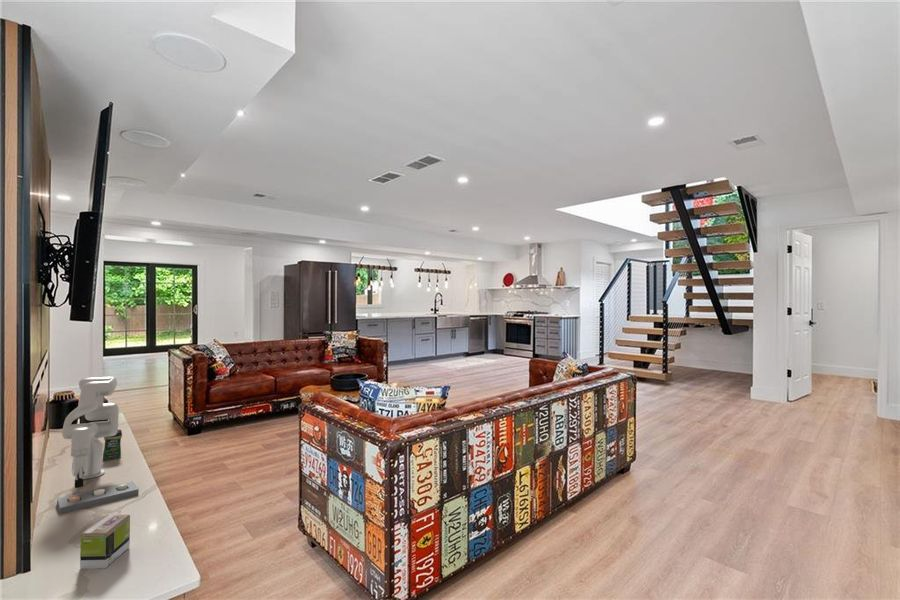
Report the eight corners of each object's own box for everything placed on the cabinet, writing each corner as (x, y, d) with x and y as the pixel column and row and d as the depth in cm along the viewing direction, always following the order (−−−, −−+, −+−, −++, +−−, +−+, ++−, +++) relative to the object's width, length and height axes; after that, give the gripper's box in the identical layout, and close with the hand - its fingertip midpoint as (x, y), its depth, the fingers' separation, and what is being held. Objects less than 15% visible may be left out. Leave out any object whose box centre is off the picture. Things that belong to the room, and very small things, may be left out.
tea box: (105, 548, 185) (107, 513, 185) (130, 547, 186) (131, 513, 186) (78, 569, 170) (80, 532, 170) (105, 569, 171) (107, 532, 171)
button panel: (56, 504, 221) (57, 498, 221) (132, 486, 244) (132, 481, 244) (59, 514, 211) (60, 507, 211) (138, 494, 235) (138, 489, 235)
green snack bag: (102, 461, 278) (103, 432, 278) (103, 457, 285) (104, 429, 285) (120, 458, 284) (122, 430, 284) (121, 455, 290) (122, 427, 290)
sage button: (116, 490, 235) (116, 485, 235) (126, 488, 238) (126, 482, 238) (118, 493, 232) (118, 487, 232) (128, 490, 235) (128, 485, 235)
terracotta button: (67, 503, 220) (68, 498, 220) (79, 501, 224) (79, 495, 224) (69, 506, 217) (69, 500, 217) (80, 504, 221) (80, 498, 221)
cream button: (92, 496, 228) (93, 490, 228) (103, 493, 231) (103, 488, 231) (94, 499, 225) (94, 493, 225) (104, 496, 228) (105, 490, 228)
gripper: (69, 449, 224) (67, 484, 224) (72, 457, 214) (70, 493, 214) (87, 446, 230) (86, 480, 229) (91, 453, 219) (90, 489, 219)
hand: (78, 486), depth 222 cm, fingers closed
